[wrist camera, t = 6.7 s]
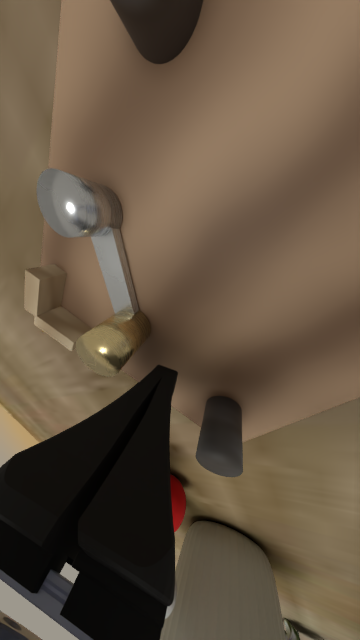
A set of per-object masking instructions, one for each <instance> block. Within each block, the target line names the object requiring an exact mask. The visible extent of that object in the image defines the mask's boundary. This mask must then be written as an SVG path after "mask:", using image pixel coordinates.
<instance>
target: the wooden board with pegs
mask: <svg viewBox="0 0 360 640" xmlns="http://www.w3.org/2000/svg"><path fill="white" fill-rule="evenodd" d="M50 168H54V169H58V170H61V171H64V172H67V173H70V174H73V175H75V176H78V177H81V178H84V179H87V180H90V181H93V182H96V183H99V184H101V185H104V186H107V187H108V188H110V189H111V190H112V191H113V192H114V193H115V195H116V196H117V198H118V200H119V202H120V205H121V209H122V223H121V226H120V228H119V230H120V234H121V238H122V242H123V246H124V250H125V255H126V259H127V263H128V267H129V271H130V275H131V279H132V283H133V287H134V292H135V296H136V300H137V304H138V308H139V311H141V312H142V313H143V314H144V315H145V316H146V317H147V318H148V320H149V322H150V325H151V334H150V336H149V337H148V339H147V340H146V341H145V342H144V343H143V344H142V346H141V347H140V348H139V349H138V350H137V351H136V353H135V354H134V355H133V356H132V357H131V358H130V359H129V361H128V362H127V363H126V364H125V365H124V366H123V368H122V369H121V370H122V371H124V372H125V373H127V374H128V375H129V376H131V377H132V378H134V379H135V380H136V381H138V382H140V381H141V380H142V379H143V378H144V377H145V376H147V375H148V374H149V373H150V372H151V371H152V370H153V369H154V368H155V367H156V366H157V365H162V366H164V367H167V368H170V369H172V370H175V371H177V372H178V376H177V381H176V385H175V389H174V393H173V396H172V402H171V406H172V407H174V408H175V409H176V410H178V411H179V412H181V413H182V414H183V415H185V416H186V417H187V418H189V419H190V420H192V421H193V422H194V423H196V424H197V425H199V426H200V427H201V431H200V436H199V441H198V446H197V452H196V459H197V461H198V462H199V463H200V464H201V465H202V466H203V467H204V468H205V469H207V470H209V471H211V472H213V473H215V474H218V475H221V476H225V477H237V476H239V475H241V474H242V472H243V454H242V442H245V441H247V440H250V439H252V438H255V437H258V436H260V435H263V434H266V433H268V432H271V431H273V430H276V429H279V428H281V427H284V426H286V425H289V424H292V423H294V422H297V421H299V420H302V419H305V418H307V417H310V416H313V415H315V414H318V413H320V412H323V411H326V410H328V409H331V408H333V407H336V406H339V405H341V404H344V403H346V402H349V401H352V400H354V399H357V398H360V0H62V2H61V15H60V28H59V40H58V53H57V65H56V78H55V91H54V103H53V116H52V128H51V141H50V154H49V166H48V169H50ZM24 309H25V310H27V311H28V312H30V313H31V314H32V315H34V316H35V320H34V325H36V326H37V327H39V328H40V329H41V330H43V331H44V332H45V333H47V334H48V335H50V336H51V337H52V338H54V339H55V340H57V341H58V342H59V343H61V344H62V345H64V346H65V347H66V348H68V349H69V350H70V351H72V350H74V349H75V348H76V341H77V339H78V338H79V337H80V336H82V335H83V334H85V333H86V332H88V331H89V330H91V329H92V328H94V327H95V326H97V325H98V324H100V323H101V322H103V321H105V320H106V319H108V318H109V317H111V316H112V315H114V314H115V312H114V309H113V306H112V303H111V300H110V297H109V293H108V290H107V287H106V284H105V281H104V277H103V274H102V271H101V268H100V265H99V261H98V258H97V255H96V252H95V249H94V245H93V242H92V239H91V237H71V238H69V237H64V236H61V235H60V234H58V233H57V232H55V231H54V230H53V229H52V228H51V227H50V225H49V224H48V223H47V221H46V220H45V218H44V229H43V242H42V254H41V267H36V268H31V269H25V302H24Z"/></svg>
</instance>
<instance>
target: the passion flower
mask: <svg viewBox="0 0 360 640" xmlns="http://www.w3.org/2000/svg"><path fill="white" fill-rule="evenodd" d="M284 623H285V627H286V631H287V633H286V631H285V630H284V631H285V636H286V640H300V637H299V633H298V630H297V631H296V630H295V629H294V627H293V626H291V624H290V622H289V621H288V620H287V619H286V618H285V619H284ZM323 640H324V639H323Z"/></svg>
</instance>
